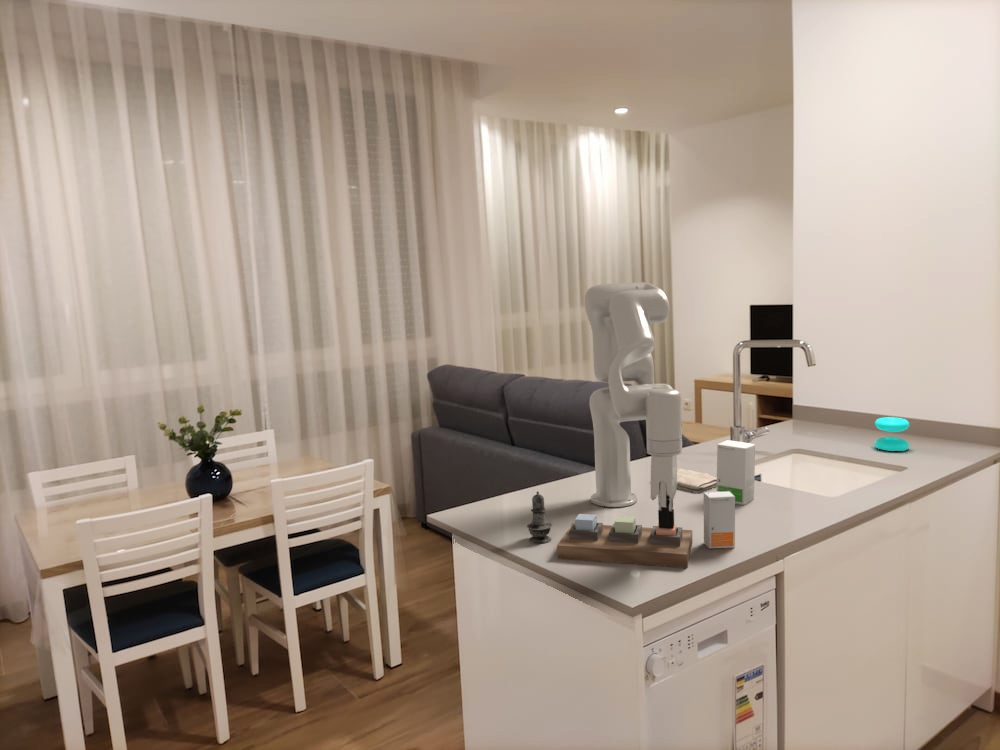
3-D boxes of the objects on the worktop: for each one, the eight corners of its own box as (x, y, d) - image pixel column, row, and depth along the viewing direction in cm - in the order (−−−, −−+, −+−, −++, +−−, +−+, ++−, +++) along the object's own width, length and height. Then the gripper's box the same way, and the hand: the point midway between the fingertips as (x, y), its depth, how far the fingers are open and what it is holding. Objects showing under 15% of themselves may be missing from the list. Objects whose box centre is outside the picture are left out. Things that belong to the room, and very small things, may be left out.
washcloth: (700, 495, 204) (700, 485, 203) (649, 484, 218) (649, 473, 217) (725, 486, 211) (725, 476, 211) (674, 475, 225) (674, 466, 225)
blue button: (579, 524, 170) (579, 513, 169) (596, 525, 168) (596, 514, 168) (575, 530, 166) (575, 519, 166) (592, 531, 165) (592, 520, 164)
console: (572, 535, 176) (572, 515, 176) (692, 542, 167) (692, 521, 167) (557, 558, 162) (556, 536, 162) (687, 568, 153) (686, 545, 153)
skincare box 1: (708, 549, 163) (708, 497, 161) (703, 542, 167) (702, 492, 166) (736, 548, 163) (735, 496, 161) (730, 541, 167) (729, 490, 166)
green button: (618, 526, 167) (617, 515, 166) (635, 527, 165) (635, 516, 165) (615, 532, 163) (614, 521, 163) (633, 533, 162) (632, 522, 161)
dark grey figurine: (551, 534, 177) (548, 486, 176) (553, 543, 172) (551, 493, 170) (526, 536, 177) (524, 488, 176) (528, 545, 171) (526, 495, 170)
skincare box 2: (715, 500, 197) (715, 444, 195) (726, 494, 202) (726, 439, 200) (745, 505, 192) (745, 447, 190) (756, 499, 196) (755, 442, 194)
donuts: (902, 423, 233) (870, 420, 240) (902, 454, 234) (869, 450, 242) (914, 418, 240) (881, 415, 247) (913, 448, 241) (881, 444, 248)
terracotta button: (658, 534, 164) (657, 523, 164) (676, 535, 163) (676, 524, 162) (656, 540, 160) (655, 529, 160) (674, 541, 159) (674, 530, 159)
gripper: (651, 438, 167) (653, 515, 169) (642, 453, 153) (644, 537, 155) (684, 438, 165) (686, 517, 167) (679, 454, 151) (681, 540, 153)
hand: (666, 527), depth 161 cm, fingers closed
